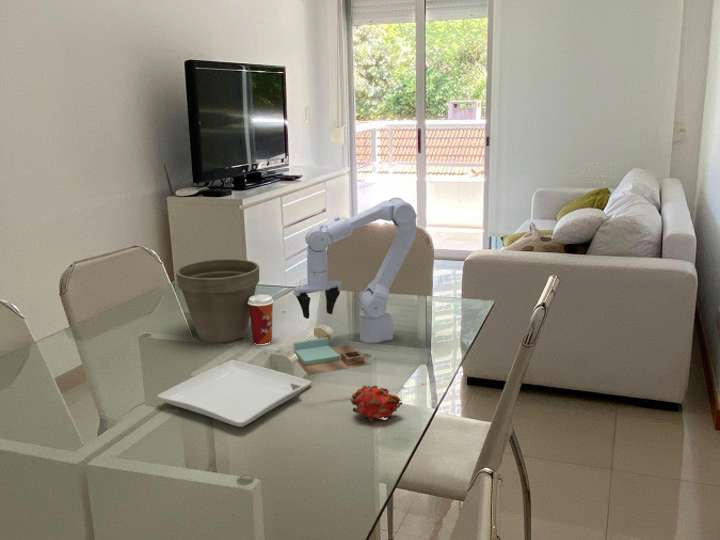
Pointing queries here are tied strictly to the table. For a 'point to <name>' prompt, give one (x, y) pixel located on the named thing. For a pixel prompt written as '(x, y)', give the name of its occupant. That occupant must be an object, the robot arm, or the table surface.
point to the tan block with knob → (321, 333)
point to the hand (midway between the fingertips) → (318, 315)
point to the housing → (338, 361)
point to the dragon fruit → (375, 402)
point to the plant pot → (219, 296)
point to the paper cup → (261, 318)
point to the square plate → (235, 392)
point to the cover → (315, 351)
